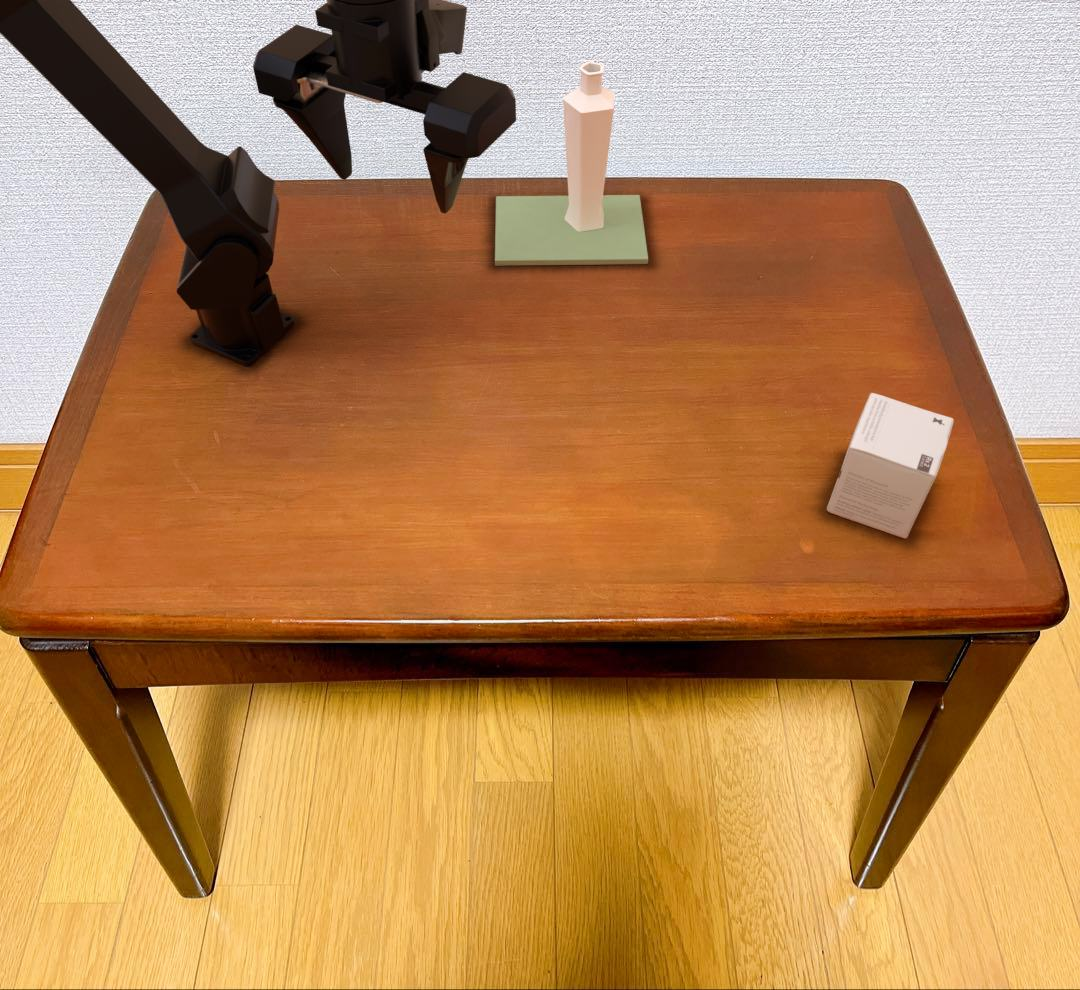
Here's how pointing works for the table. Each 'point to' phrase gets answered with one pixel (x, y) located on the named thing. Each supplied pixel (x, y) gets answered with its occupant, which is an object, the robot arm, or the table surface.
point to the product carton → (890, 465)
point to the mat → (567, 232)
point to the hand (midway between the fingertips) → (395, 193)
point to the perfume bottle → (587, 147)
